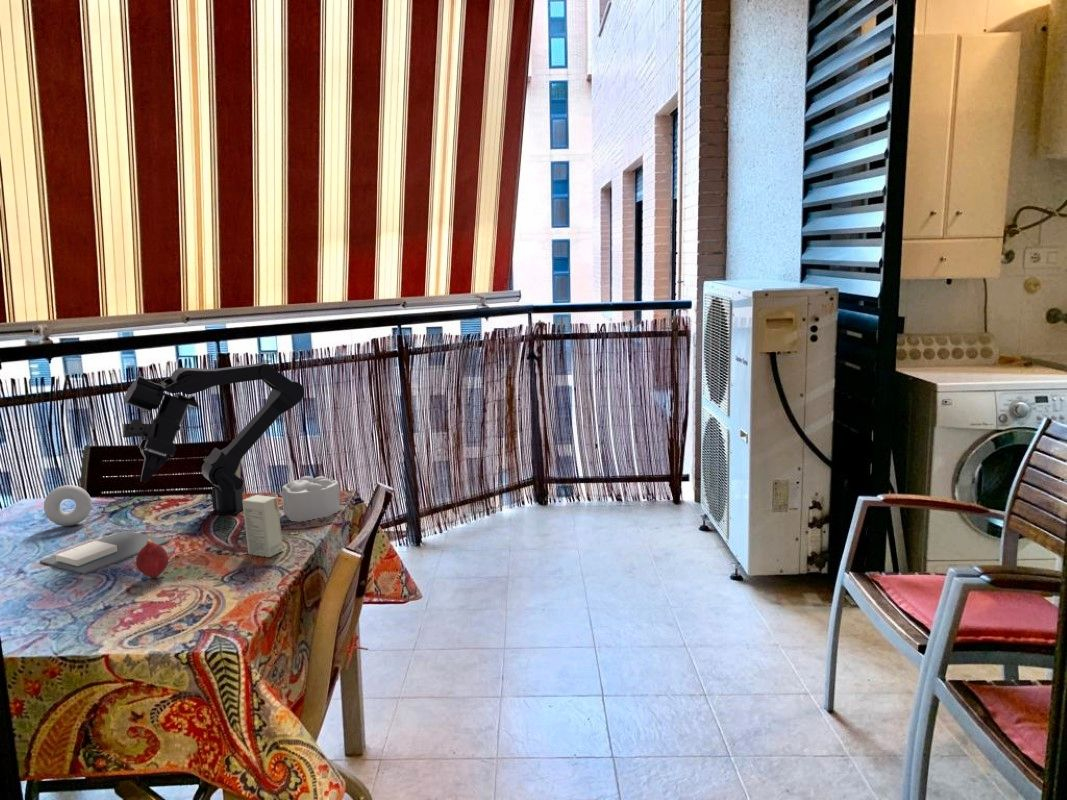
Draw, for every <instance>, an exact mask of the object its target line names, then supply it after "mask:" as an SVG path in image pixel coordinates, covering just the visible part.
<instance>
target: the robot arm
mask: <svg viewBox="0 0 1067 800" xmlns="http://www.w3.org/2000/svg"><path fill="white" fill-rule="evenodd" d="M259 380H261V381H262V382H264V384H266V385H267V387H269V388H270V389H271V390H270V392H269V394H268V396H267V400H266V402H265V404H264V405H263V406H262V407H261V408H260V410H259V411H258V412H257V413H256V414H255V415H254V416H253V417H252V418H251V420H249V421H248V423H247V424H246V425H245V426H244V427H243V429H242V430H241V431H239V433H238V434H237V435H235V438H233V439H232V440H231V442H230V443H229V444H228V445H227V446H225V447H224V448H222V449H219V448H217V447H214V448H213V449H212V451H210V453H209V454H208V456H206V457H205V458H203V461H204V462H203V464H202V466H201V474H202V476H203V477H204V478H205V479H206V480H207V481H209V482H210V483H211V484H212V486H214V487H212V493H211V503H212V510H211V511H210V514H211V515H212V514H213V515H230V516H231V515H232V516H234V515H236V514H238V513H239V512H241V511H243V502H242V500H244V495H243V494H244V493H243V485H244V480H243V479H241V478H240V477H239V476H238V475H236V473H237V471H238V469H239V467H240V464H241V461H242V459H243V458H244V456H245V455H246V454H247V453H248V452H249V451H250V449H251V448H253V446H254V445H255V444H256V442H257V441H258V440H259V439H260V438H261V437H262V436H263V435H265V433H266V432H267V430H268V429H269V428H271V426H272V425H273V424H274V423H275V422H276V420H278V418H279V417H280V416H281V415H283V414H284V413H286V412H288V411H290V410H291V409H293V408H294V407H295V406H297V405H298V404H299V403H301V402H302V400H303V399H304V397H305V388H304V387H303V385H302V383H300V382H298V381H295V380H292V379H289V378H288V377H286V376H285V375H284V374H282V373H281V372H279V371H277V369H275V368H274V367H273V366H272V365H271V364H269V363H266V362H257V363H254V364H244V365H237V366H230V367H229V366H228V367H220V368H213V369H212V368H210V369H207V368H198V367H197V368H196V367H178V368H176V369H175V370H174V371H173V372H172V374H171V376H169V377H167V378H165V379H164V380H162V381H160V382H158V383H155V382H153V381H150V380H148V379H146V378H144V377H143V376H142V377H141V376H140V375H137V376H136V378H135V380H134V381H133V382H132V383H131V385H130V386H129V387H128V388H127V390H126V393H125V395H124V401H123V402H124V404H127V405H130V406H132V407H134V408H135V407H136V408H137V409H141V410H144V411H147V412H152V410H157V413H156V415H155V417H154V419H151V421H150V423H143V422H142V420H141V419H140V418H136V419H135V418H133V419H132V420H131V422H130V423H123V424H122V438H123V439H125V438H129V439H130V438H133V437H135V438H137V437H140V438H141V437H143V439H142V440H141V441H140V443H139V446H138V448H139V451H140V453H141V455H142V457H143V458H144V459H143V465H142V469H141V476H140V482H142V483H147V482H148V481H149V480H150V479H151V478H152V477H153V475H155V474H156V473H157V471H159V470H160V468H161V467H163V465H164V464H165V463H166V462H167V461H169V459H170V457H174V456H175V454H176V451H177V446H176V445H175V440H176V437H177V435H178V432H179V431H180V430H181V428H182V426H181V424H182V422H183V420H184V419H185V415H186V413H187V410H188V408H189V407H191V408H198V407H199V404H198V402H197V400H196V396H194V395H193V394H197V393H199V392H203V391H206V390H208V389H210V388H212V387H216V386H223V385H230V384H238V383H244V382H252V381H259ZM165 392H166V393H165ZM168 393H169V394H168ZM180 393H182V394H185V395H190V396H185V395H182V394H180ZM171 394H172V395H171ZM168 456H170V457H168Z"/></svg>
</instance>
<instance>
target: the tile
mask: <svg viewBox="0 0 1067 800" xmlns="http://www.w3.org/2000/svg"><path fill="white" fill-rule="evenodd" d="M116 552H117V545H113V544H109V543H104V542H100V541H97V540H93V541H91V542H88V543H85V544H82V545H79V546H76V547H74V548H71V549H68V550H64V551H62V552H60V553H59V552H58V553H56V554H55V555H56V561H58V562H61V563H65V564H69V565H72V566H76V567H79V566H82V565H85V564H87V563H90V562H93V561H95V560H98V559H101V558H103V557H106V556H109V555H111V554H114V553H116Z"/></svg>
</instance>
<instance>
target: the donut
mask: <svg viewBox="0 0 1067 800" xmlns="http://www.w3.org/2000/svg"><path fill="white" fill-rule="evenodd" d="M65 500H72V501H74V503H75V508H74V509H73V510H71V511H65V510H63V509H62V508H61V504H62V502H63V501H65ZM92 506H93V502H92V499H91V496H90V494H89V493H88V492H87V490H85V489H84V488H83V487H81V486H79V485H78V486H77V485H74V484H64V485H61V486H57V487H56V488H54V489H53V490H51V491H50V492H49V493H48V494H47V495H46V497H45V499H44V502H43V511H44V514H45V516H46V517H47V519H48V520H49V521H50V522H51V523H54V524H55V525H56V526H61V527H73V526H75V525H78V524H80V523H81V522H83V521H85V519H87V518H88V516H89V515H90V513H91V511H92V509H93V507H92Z"/></svg>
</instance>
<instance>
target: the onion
mask: <svg viewBox="0 0 1067 800" xmlns="http://www.w3.org/2000/svg"><path fill="white" fill-rule="evenodd" d="M169 560H170V559H169V554H168V552H167V550H166V549H165V547H163V545H158V544H155V543H154V542H152V540H150V539H148V541H147V544H146V545H145V546H144V547H143V548H142V549H141V550H140V551H139V553H138V554H137V555H136V557H135V566H136V569H137V570H138V571H139V572H140V573H141V574H142V575H144V576H146V577H149V578H151V579H155V578H157V577H158V576H159V575H161V574H162V573H163V572H164V571H165V569H166V568H167V566H168V565H169Z"/></svg>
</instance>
